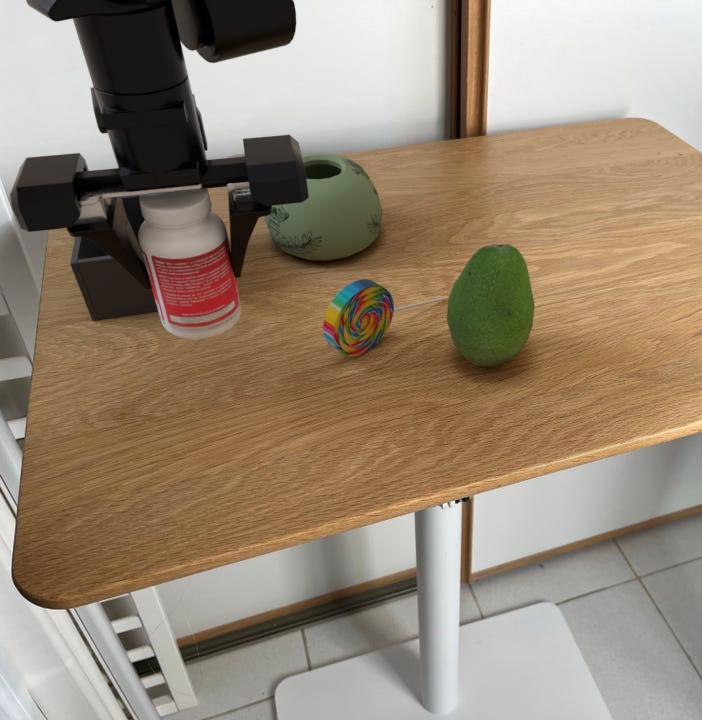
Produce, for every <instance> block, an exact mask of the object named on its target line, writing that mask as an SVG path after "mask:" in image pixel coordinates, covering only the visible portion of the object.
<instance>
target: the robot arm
mask: <svg viewBox="0 0 702 720" xmlns="http://www.w3.org/2000/svg"><path fill="white" fill-rule="evenodd" d="M25 2H26V4H27V5H28V6H29V7H30V8H32V9H33V10H35V11H37V12H38V13H39V14H41V15H43V16H44V17H46V18H48V19H49V20H51V21H53V22H62V21H69V20H72V22H73V25H74V28H75V31H76V34H77V38H78V41H79V44H80V48H81V49H82V54H83V57H84V60H85V63H86V66H87V71H88V73H89V76H90V79H91V84H92V87H90V94H91V101H92V109H93V113H94V118H95V121H96V125H97V128H98V131H99V132H100V133H101V134H102V135H103V134H107V135H108V139H109V143H110V145H111V149H112V152H113V155H114V158H115V161H116V164H117V167H116V168H115V167H114V168H104V169H103V168H102V169H94V170H89V167H88V164H87V161H86V159H85V158H84V156H83V155H82V154H81V153H80V152H76V153H75V152H74V153H62V154H51V155H41V156H29V157H26V158H25V159H24V160H23V162H22V163H21V165H20V167H19V169H18V172H17V175H16V177H15V179H14V182H13V186H12V188H11V191H10V193H9V196H10V197H9V198H10V204H11V208H12V211H13V213H14V215H15V218H16V220H17V222H18V225H19V228H20V229H21V230H23V231H25V232H27V233H33V232H42V231H43V232H44V231H51V230H61V229H66V231H67V234H68V235H69V236H70V237H72V238H75V237H85V238H87V239H88V240H90V241H91V242H92V243H94V244H95V245H96V246H98V247H99V248H100V249H102V250H103V251H104V252H106V253H107V254H108V255H110V256H111V257H112V258H113V259H115V260H116V261H117V262H118V263H119V264H120V265H121V266H122V267H123V268H124V269H125V270H126V271H127V272H128V273H129V274H130V275H131V276H132V277H133V278H134V279H136V280H137V281H138V282H139V283H140V284H141V285H142V286H143V287H144V288H145V289H146V290H148V289H151V288H152V287H151V283H150V280H149V276H148V273H147V269H146V266H145V262H144V258H143V255H142V252H141V248H140V246H139V244H138V241H137V239H136V237H135V234H134V232H133V230H132V227H131V225H130V223H129V220H128V218H127V215H126V212H125V208H124V205H123V201H122V197H129V196H139V195H149V194H159V193H169V192H179V191H188V190H198V189H207V190H208V189H216V188H217V189H218V188H225V187H226V188H227V201H228V203H227V204H228V219H229V222H228V223H229V239H230V241H229V242H230V251H231V257H232V268H233V272H234V275H235V278H236V279H240V278H242V273H243V268H244V263H245V258H246V254H247V249H248V245H249V242H250V240H251V237H252V235H253V232H254V230H255V227H256V225H257V223H258V221H259V219H260V218H262V217H265V216H268V215H270V214H271V213H272V206H274V205H283V204H292V203H301V202H303V201H305V200H306V199H308V198H309V195H308V187H307V179H306V173H305V167H304V163H303V158H302V156H303V154H302V151H301V146H300V142H299V141H298V140H296V138H294V137H293V136H292V135H291V134H281V135H270V136H269V135H268V136H260V137H258V136H257V137H248V138H247V137H246V138H242V143H243V153H239V154H232V155H229V156H228V157H225V158H211V159H207V153H206V151H208V140H207V135H206V131H205V126H204V121H203V117H202V112H201V111H200V109H199V107H198V106H197V102H196V97H195V94H194V93H193V91H192V87H191V83H190V78H189V74H188V73H189V72H188V69H187V64H186V59H185V55H184V50H183V46H184V47H185V49H187V50H189V51H192V52H193V51H194V52H195V51H196V52H197V54H198V55H199V56H200V57H201V58H202V59H203V60H204V61H205V62H207V63H210V64H216V63H220V62H224V61H229V60H232V59H236V58H241V57H245V56H248V55H254V54H257V53H262V52H265V51H269V50H273V49H277V48H282V47H286V46H288V45H290V44H291V43H292V41H293V39H294V37H295V35H296V30H297V11H296V5H295V1H294V0H25ZM182 45H183V46H182Z"/></svg>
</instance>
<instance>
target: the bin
mask: <svg viewBox="0 0 702 720" xmlns="http://www.w3.org/2000/svg"><path fill="white" fill-rule="evenodd" d="M139 197H140V195H139V196H129V197H122V201H123V205H124V208H125V212H126V215H127V218H128V220H129V223H130V225H131V227H132V230H133V232H134V234H135V237H136V239H137V241H138V244H139V240H138V232H139V229H140V227H141V225H142V223H143V222H144V221H145V219H144V217H143V215H142V211H141V206H140V201H139ZM73 240H74V241H73V246H72V250H71V251H72V252H71V256H70V262H69V264H70V267H71V270H72V273H73V275H74V278H75V280H76V283H77V286H78V287H79V290H80V294H81V296H82V298H83V300H84V303H85V306H86V308H87V311H88V314H89V315H90V318H91V321H98V320H99V321H100V320H105V319H111V318H112V319H113V318H118V317H119V318H120V317H127V316H134V315H139V314H147V313H153V312H158V308H157V305H156V302H155V297H154V294H153V290H152V288H151V289H148V290H146V289H145V288H144V287H143V286H142V285H141V284H140V283H139V282H138V281H137V280H136V279H134V278H133V277H132V276H131V275H130V274H129V273H128V272H127V271H126V270H125V269H124V268H123V267H122V266H121V265H120V264H119V263H118V262H117V261H116V260H115V259H113V258H112V257H111V256H110V255H108V254H107V253H106V252H104V251H103V250H102V249H100V248H99V247H98V246H96V245H95V244H94V243H92V242H91V241H90V240H88V239H87V238H85V237H74V239H73ZM139 246H140V245H139Z"/></svg>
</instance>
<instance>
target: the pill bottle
mask: <svg viewBox="0 0 702 720" xmlns="http://www.w3.org/2000/svg"><path fill="white" fill-rule="evenodd" d="M139 201H140V206H141V211H142V215H143V217H144V219H145V221H144V222H143V223H142V225H141V227H140V229H139V232H138V240H139V245H140V248H141V252H142V255H143V258H144V262H145V266H146V269H147V273H148V276H149V280H150V283H151V287H152V290H153V294H154V297H155V302H156V305H157V308H158V311H157V312H158V315H159V316H158V317H159V319H160V321H161V324H162V326H163V327H164V329H165V330H166V331H167V332H168V333H170V334H171V335H173V336H175V337H178V338H182V339H185V340H203V339H209V338H213V337H217V336H219V335H221V334H223V333H225V332H227V331H228V330H230V329H232V328H233V327H234V326H235V325H236V324H237V323H238V322H239V320H240V318H241V315H242V304H241V298H240V293H239V287H238V281H237V278H235V275H234V272H233V268H232V257H231V245H230V241H229V234H228V231H227V227H226V223H225V222H224V220H223V218H221V217H220V215H218V214H217V212H214V211H212V206H213V205H212V200H211V196H210V192H209V190H208V189H198V190H188V191H179V192H169V193H159V194H149V195H140V197H139Z"/></svg>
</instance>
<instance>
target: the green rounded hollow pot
mask: <svg viewBox="0 0 702 720" xmlns="http://www.w3.org/2000/svg"><path fill="white" fill-rule="evenodd" d="M302 158H303V163H304V167H305V173H306V179H307V187H308V195H309V198H308V199H306V200H305V201H303V202H301V203H292V204H283V205H274V206H272V213H271V214H270V215H268V216H264V221H265V224H266V225H267V229H268V232H269V234H270V236H271V239H272V242H273V244H274V245H275V246H276V247H278V248H279V249H281V250H282V251H283V252H285V253H286V254H287V255H291V256H293V257H297V258H300V259H304V260H307V261H319V262H321V261H322V262H324V261H325V262H329V261H335V260H340V259H345V258H348V257H351V256H353V255H356V254H358V253H360V252H361V251H363V250H365V249H367V248H368V247H369V246H370V245H371V244H372V243H374V241H375V240H376V239H378V237H379V235H380V231H381V230H380V229H381V224H382V217H383V208H382V203H381V200H380V195H379V192H378V191H377V189H376V186H375V185H374V182H373V181H372V180H371V178H370V176H369V175H368V173H367V172H366V170H365V168H364V167H363V166H361V165H360V164H358V163H357V162H356V161H354V160H353V159H351V158H349V157H347V156H344V155H341V154H340V155H339V154H336V153H322V152H321V153H310V154H304V155H303V154H302Z"/></svg>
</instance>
